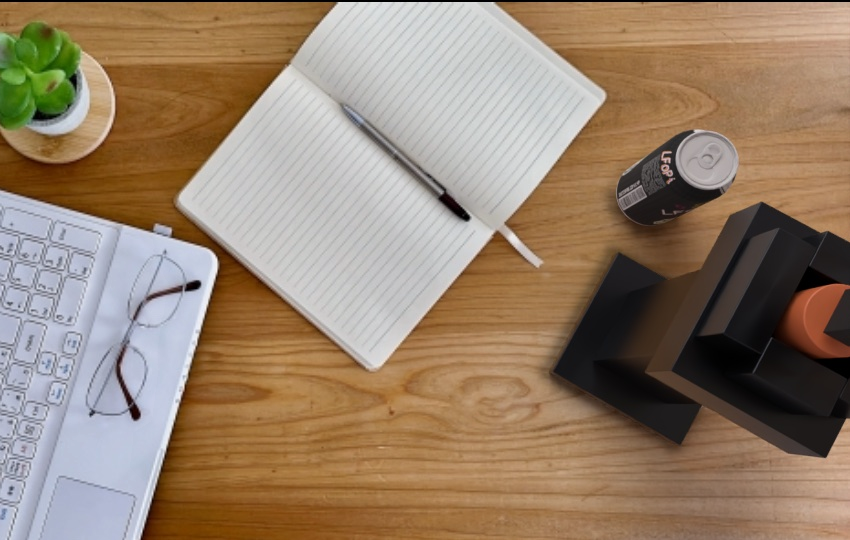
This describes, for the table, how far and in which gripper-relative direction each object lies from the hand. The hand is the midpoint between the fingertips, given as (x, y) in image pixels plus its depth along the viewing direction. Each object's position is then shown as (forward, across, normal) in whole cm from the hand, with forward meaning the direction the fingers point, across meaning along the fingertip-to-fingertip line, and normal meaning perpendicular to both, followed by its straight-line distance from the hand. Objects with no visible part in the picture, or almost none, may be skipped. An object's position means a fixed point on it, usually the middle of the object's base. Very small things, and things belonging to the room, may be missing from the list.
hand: (847, 317), depth 46 cm
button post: (+28, 0, 0) cm, 28 cm away
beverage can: (+28, +6, -12) cm, 31 cm away
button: (+4, 0, 0) cm, 4 cm away
